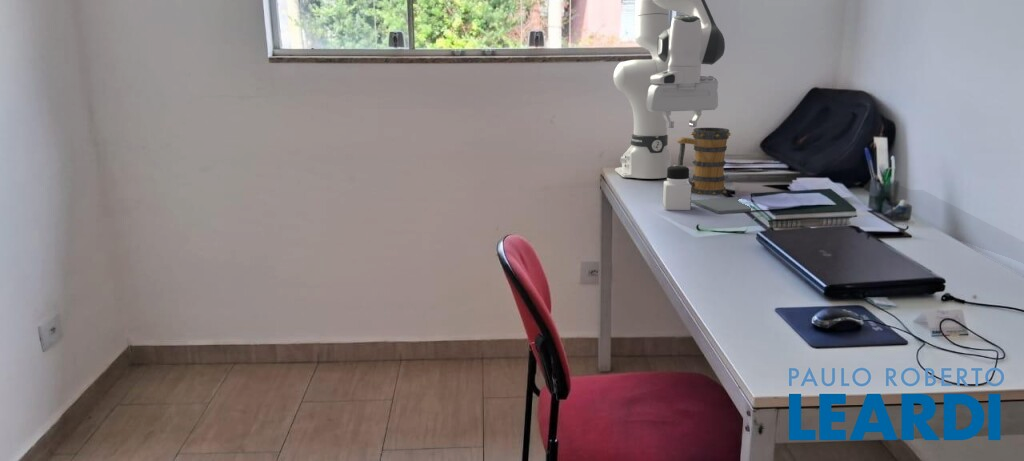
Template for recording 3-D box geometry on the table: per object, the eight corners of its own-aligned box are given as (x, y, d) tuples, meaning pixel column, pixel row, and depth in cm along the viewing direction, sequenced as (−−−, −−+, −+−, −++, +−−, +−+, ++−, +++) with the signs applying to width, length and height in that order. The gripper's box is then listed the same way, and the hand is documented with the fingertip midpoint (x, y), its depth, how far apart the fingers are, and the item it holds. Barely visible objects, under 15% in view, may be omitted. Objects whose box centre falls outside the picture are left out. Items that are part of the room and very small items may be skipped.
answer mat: (690, 202, 224) (690, 200, 223) (738, 199, 228) (739, 196, 227) (718, 213, 209) (718, 211, 208) (769, 210, 212) (769, 207, 212)
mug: (735, 196, 232) (739, 131, 227) (681, 198, 230) (684, 132, 225) (719, 189, 245) (723, 126, 240) (668, 190, 243) (670, 127, 238)
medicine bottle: (690, 210, 213) (692, 168, 210) (665, 210, 214) (666, 168, 211) (687, 205, 220) (689, 164, 217) (662, 205, 221) (664, 164, 218)
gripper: (712, 75, 213) (709, 124, 216) (645, 76, 208) (643, 127, 211) (723, 76, 207) (720, 127, 211) (655, 77, 202) (653, 129, 206)
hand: (681, 127), depth 211 cm, fingers open, 6 cm apart
